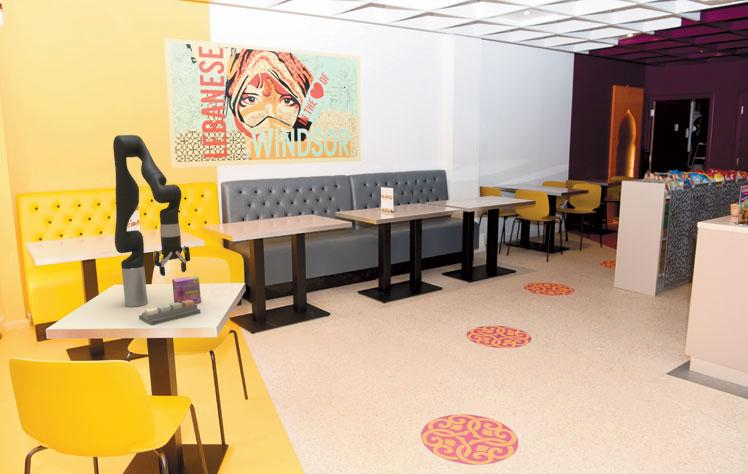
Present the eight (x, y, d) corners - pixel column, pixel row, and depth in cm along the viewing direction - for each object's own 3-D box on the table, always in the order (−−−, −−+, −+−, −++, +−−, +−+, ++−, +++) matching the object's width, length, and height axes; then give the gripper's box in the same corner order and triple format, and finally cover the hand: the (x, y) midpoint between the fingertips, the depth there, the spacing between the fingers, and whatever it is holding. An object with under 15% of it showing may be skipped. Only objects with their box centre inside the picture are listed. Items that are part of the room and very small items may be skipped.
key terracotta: (181, 305, 237) (181, 301, 237) (189, 303, 240) (189, 299, 240) (185, 307, 235) (185, 303, 234) (194, 305, 237) (193, 301, 237)
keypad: (139, 318, 230) (138, 311, 229) (187, 307, 244) (186, 300, 244) (151, 325, 221) (150, 317, 221) (200, 313, 236) (199, 305, 235)
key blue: (157, 311, 230) (157, 306, 230) (166, 309, 233) (166, 304, 233) (161, 312, 228) (161, 308, 227) (170, 310, 230) (170, 306, 230)
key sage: (169, 308, 234) (169, 304, 234) (178, 306, 237) (178, 302, 236) (173, 310, 231) (173, 305, 231) (182, 308, 234) (182, 303, 234)
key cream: (145, 313, 227) (144, 309, 226) (154, 311, 229) (153, 307, 229) (149, 315, 224) (148, 311, 224) (158, 313, 227) (157, 309, 226)
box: (178, 307, 245) (175, 281, 243) (174, 304, 250) (171, 278, 248) (201, 303, 251) (199, 277, 249) (197, 300, 256) (195, 275, 254)
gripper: (183, 231, 233) (185, 269, 236) (149, 235, 223) (152, 275, 226) (191, 233, 227) (194, 272, 230) (157, 238, 218) (160, 278, 221)
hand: (173, 273), depth 228 cm, fingers open, 8 cm apart
